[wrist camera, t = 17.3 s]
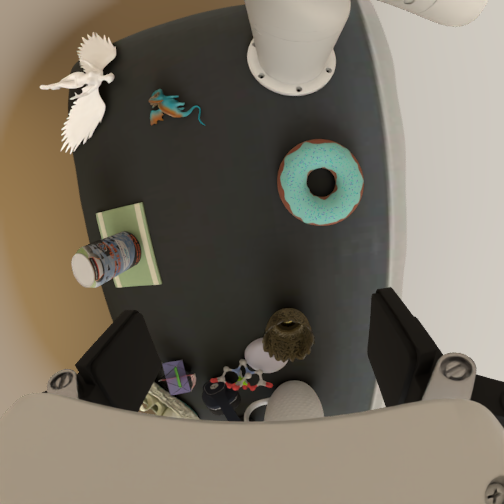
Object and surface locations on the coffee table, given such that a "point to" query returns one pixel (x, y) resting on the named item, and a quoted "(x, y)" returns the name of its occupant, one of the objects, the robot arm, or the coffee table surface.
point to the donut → (298, 193)
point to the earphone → (222, 400)
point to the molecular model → (242, 378)
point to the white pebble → (261, 358)
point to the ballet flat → (167, 404)
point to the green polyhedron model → (177, 377)
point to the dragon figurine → (167, 107)
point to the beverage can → (106, 259)
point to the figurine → (86, 90)
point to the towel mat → (136, 224)
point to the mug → (289, 403)
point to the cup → (288, 335)
